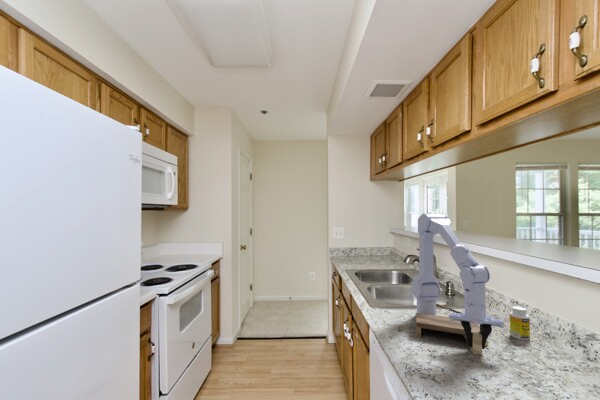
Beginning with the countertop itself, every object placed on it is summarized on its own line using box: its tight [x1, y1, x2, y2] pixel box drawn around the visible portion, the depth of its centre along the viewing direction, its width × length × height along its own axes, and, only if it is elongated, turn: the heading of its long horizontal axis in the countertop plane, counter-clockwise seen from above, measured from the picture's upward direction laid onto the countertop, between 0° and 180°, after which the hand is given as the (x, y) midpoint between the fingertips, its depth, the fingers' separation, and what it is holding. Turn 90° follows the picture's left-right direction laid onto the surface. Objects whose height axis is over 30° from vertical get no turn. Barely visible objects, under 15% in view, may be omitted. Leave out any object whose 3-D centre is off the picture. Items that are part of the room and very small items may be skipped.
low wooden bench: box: [415, 312, 480, 339], centre depth 97 cm, size 10×20×5 cm, turn 68°
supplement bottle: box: [509, 306, 531, 341], centre depth 97 cm, size 6×6×10 cm
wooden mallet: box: [462, 330, 483, 356], centre depth 91 cm, size 13×3×6 cm, turn 164°
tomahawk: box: [436, 302, 465, 314], centre depth 127 cm, size 20×7×1 cm, turn 23°
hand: (475, 346), depth 86 cm, fingers closed on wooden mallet, 3 cm apart
